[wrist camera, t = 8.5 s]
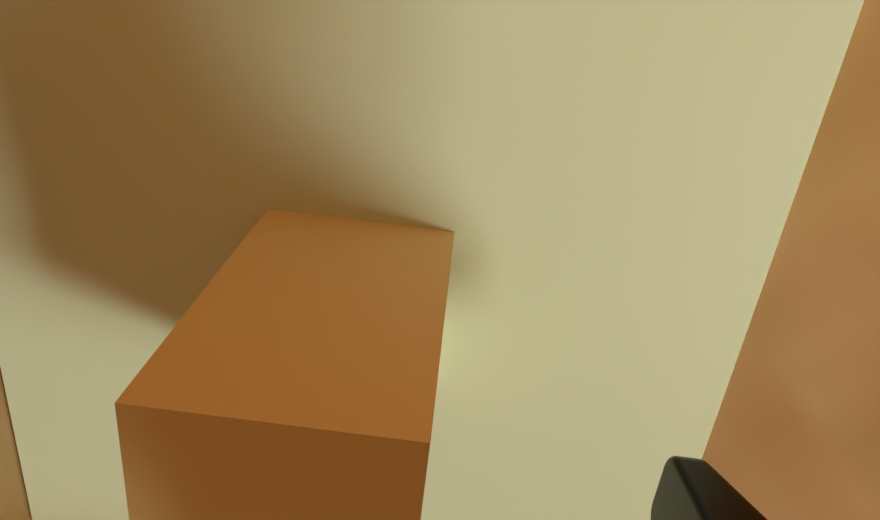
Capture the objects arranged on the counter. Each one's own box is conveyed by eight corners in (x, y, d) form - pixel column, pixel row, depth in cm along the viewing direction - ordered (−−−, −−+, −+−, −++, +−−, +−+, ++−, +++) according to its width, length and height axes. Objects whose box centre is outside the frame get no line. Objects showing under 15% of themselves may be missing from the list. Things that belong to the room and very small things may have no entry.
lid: (862, -80, 9) (1325, -89, 4) (640, 577, 15) (719, 919, 10) (-73, -191, 10) (-746, -330, 4) (56, 502, 15) (-170, 800, 10)
